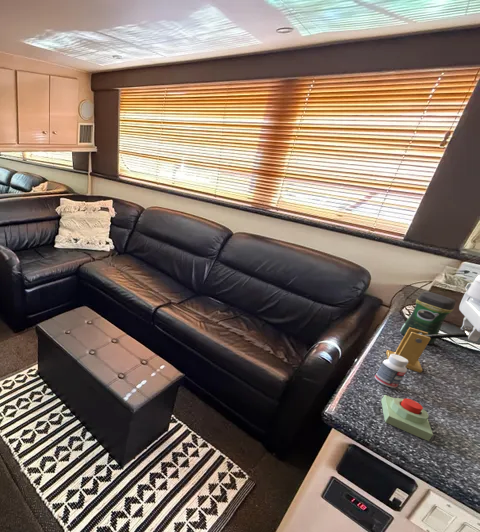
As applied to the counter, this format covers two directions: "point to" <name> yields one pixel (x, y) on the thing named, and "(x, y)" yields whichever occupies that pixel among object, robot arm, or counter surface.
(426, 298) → the coffee jar
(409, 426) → the button box
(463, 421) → the counter surface
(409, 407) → the button
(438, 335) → the lever
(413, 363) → the bracket
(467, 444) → the counter surface
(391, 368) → the pill bottle
